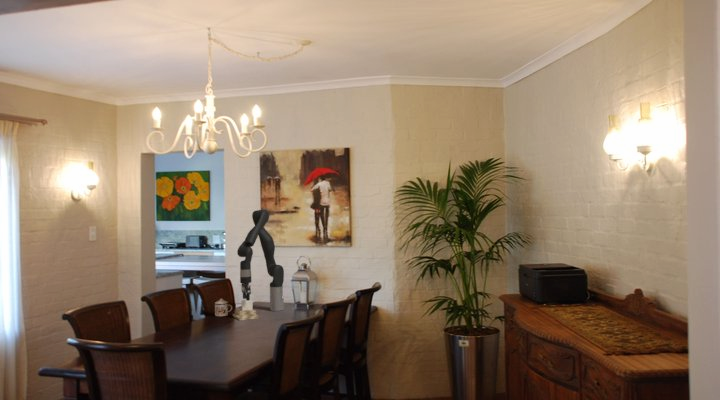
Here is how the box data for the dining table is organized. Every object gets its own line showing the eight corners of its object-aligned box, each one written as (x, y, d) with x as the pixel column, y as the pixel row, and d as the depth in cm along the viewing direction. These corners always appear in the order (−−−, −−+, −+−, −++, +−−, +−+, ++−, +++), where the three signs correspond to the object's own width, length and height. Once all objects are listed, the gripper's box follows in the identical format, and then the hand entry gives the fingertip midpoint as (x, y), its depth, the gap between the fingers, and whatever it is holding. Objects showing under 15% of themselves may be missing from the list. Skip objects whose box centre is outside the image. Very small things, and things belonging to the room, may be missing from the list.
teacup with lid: (213, 316, 389) (213, 299, 390) (216, 314, 398) (215, 297, 399) (231, 316, 390) (230, 299, 390) (233, 313, 399) (232, 297, 400)
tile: (251, 314, 388) (251, 299, 389) (252, 314, 386) (252, 300, 386) (241, 315, 385) (241, 300, 386) (242, 315, 383) (242, 301, 383)
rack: (252, 314, 396) (252, 307, 396) (259, 318, 381) (259, 310, 381) (232, 316, 390) (232, 309, 390) (239, 320, 375) (238, 312, 375)
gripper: (253, 276, 381) (254, 300, 381) (248, 274, 394) (248, 297, 394) (243, 277, 378) (243, 301, 378) (237, 275, 390) (238, 298, 390)
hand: (246, 299), depth 386 cm, fingers open, 8 cm apart
